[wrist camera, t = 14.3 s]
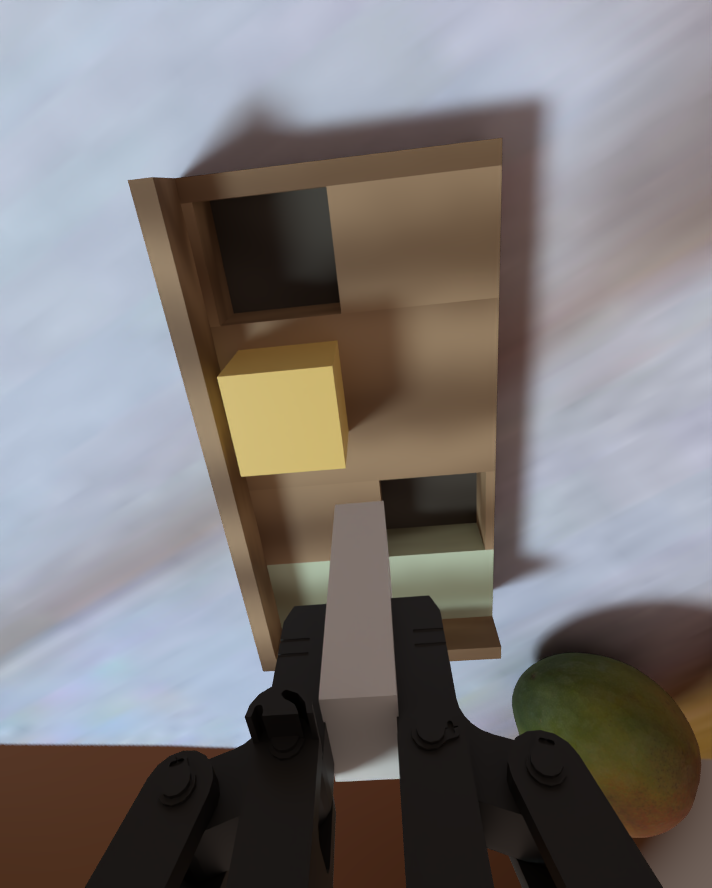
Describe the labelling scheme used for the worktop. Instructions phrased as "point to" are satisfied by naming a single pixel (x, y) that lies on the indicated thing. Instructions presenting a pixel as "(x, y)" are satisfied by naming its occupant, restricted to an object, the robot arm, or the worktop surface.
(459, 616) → the box
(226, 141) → the worktop surface
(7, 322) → the worktop surface
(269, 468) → the block
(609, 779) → the fruit
